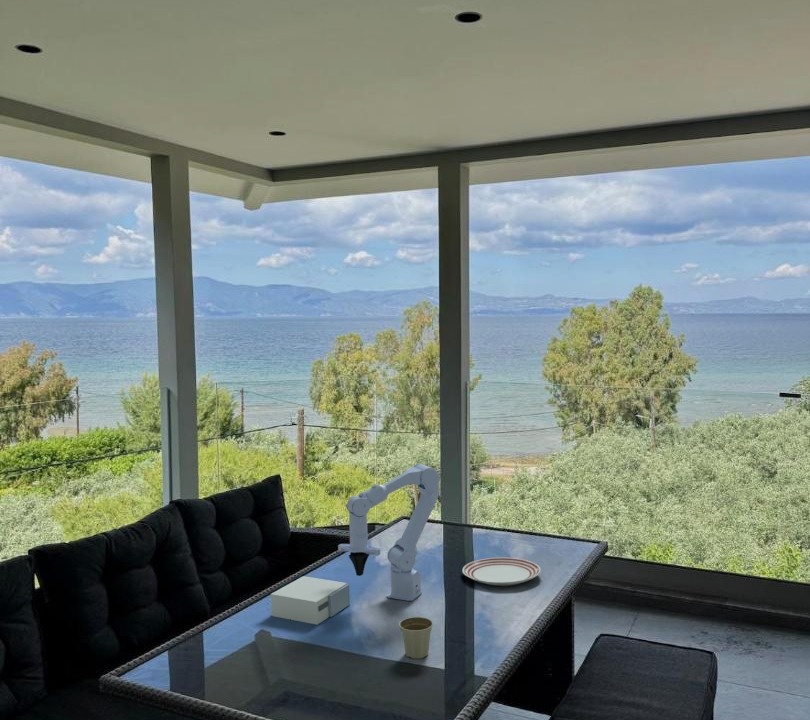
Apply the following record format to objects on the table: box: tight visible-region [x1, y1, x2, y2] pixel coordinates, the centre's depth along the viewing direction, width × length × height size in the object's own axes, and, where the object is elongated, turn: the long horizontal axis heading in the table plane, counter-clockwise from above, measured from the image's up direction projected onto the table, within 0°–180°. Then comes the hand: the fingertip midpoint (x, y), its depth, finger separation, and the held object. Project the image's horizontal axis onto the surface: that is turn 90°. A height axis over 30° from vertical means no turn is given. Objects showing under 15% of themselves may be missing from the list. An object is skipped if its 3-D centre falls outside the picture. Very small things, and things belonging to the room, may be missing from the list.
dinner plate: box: [461, 557, 542, 587], centre depth 272 cm, size 28×27×3 cm
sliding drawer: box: [328, 583, 351, 618], centre depth 246 cm, size 10×11×7 cm
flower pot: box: [398, 616, 434, 660], centre depth 211 cm, size 9×9×9 cm
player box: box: [270, 575, 348, 626], centre depth 245 cm, size 17×18×7 cm
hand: (359, 574), depth 250 cm, fingers closed
